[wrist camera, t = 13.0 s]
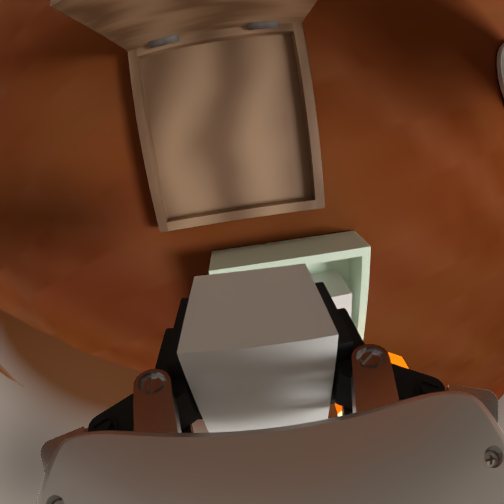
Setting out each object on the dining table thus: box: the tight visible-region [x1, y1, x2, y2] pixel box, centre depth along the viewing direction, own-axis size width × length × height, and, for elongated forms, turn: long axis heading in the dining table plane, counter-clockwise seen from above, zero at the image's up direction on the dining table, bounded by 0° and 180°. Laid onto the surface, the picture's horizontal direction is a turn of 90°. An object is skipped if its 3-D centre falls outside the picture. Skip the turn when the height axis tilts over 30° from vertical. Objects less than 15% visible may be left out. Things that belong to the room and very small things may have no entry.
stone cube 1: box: [311, 270, 352, 317], centre depth 27 cm, size 4×4×4 cm
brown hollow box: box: [50, 0, 325, 232], centre depth 16 cm, size 15×17×14 cm
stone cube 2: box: [177, 263, 339, 433], centre depth 11 cm, size 4×4×4 cm
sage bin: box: [209, 231, 371, 340], centre depth 28 cm, size 14×12×4 cm
